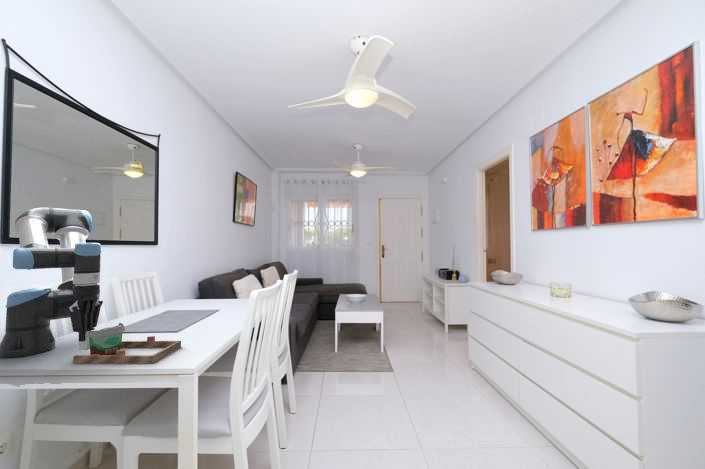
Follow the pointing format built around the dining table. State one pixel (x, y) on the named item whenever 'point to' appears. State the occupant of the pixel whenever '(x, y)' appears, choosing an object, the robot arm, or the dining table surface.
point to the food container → (106, 340)
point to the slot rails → (123, 358)
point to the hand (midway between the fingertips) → (84, 349)
